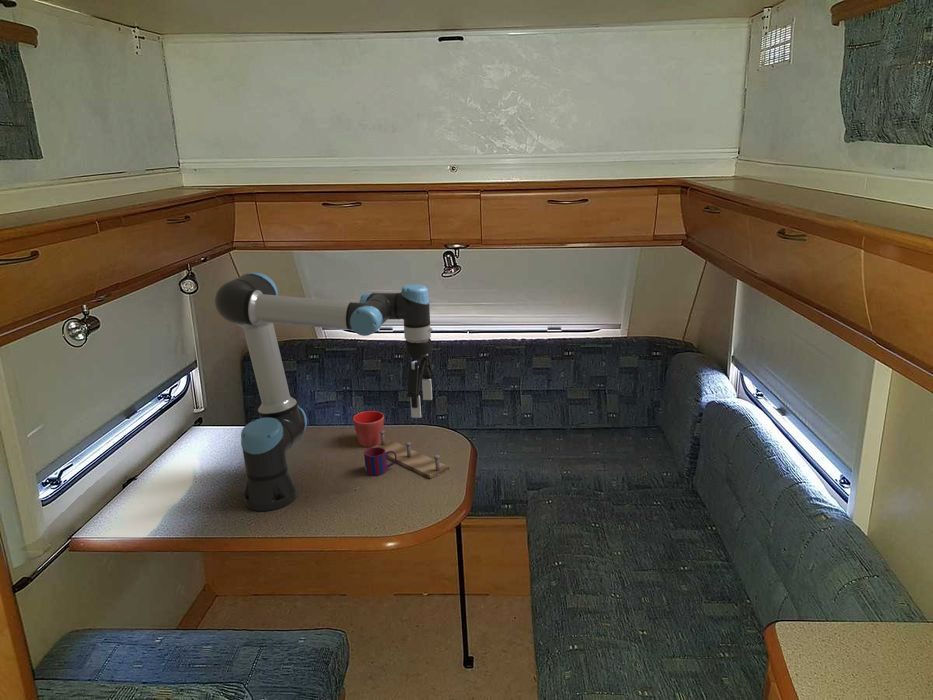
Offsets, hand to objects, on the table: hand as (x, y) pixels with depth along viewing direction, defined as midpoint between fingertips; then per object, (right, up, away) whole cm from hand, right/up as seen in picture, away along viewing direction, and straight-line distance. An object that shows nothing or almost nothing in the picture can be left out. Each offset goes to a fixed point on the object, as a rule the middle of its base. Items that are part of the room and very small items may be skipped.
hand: (422, 408), depth 200 cm
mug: (-14, -21, +15) cm, 29 cm away
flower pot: (-20, -15, +36) cm, 44 cm away
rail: (-6, -19, +21) cm, 29 cm away
